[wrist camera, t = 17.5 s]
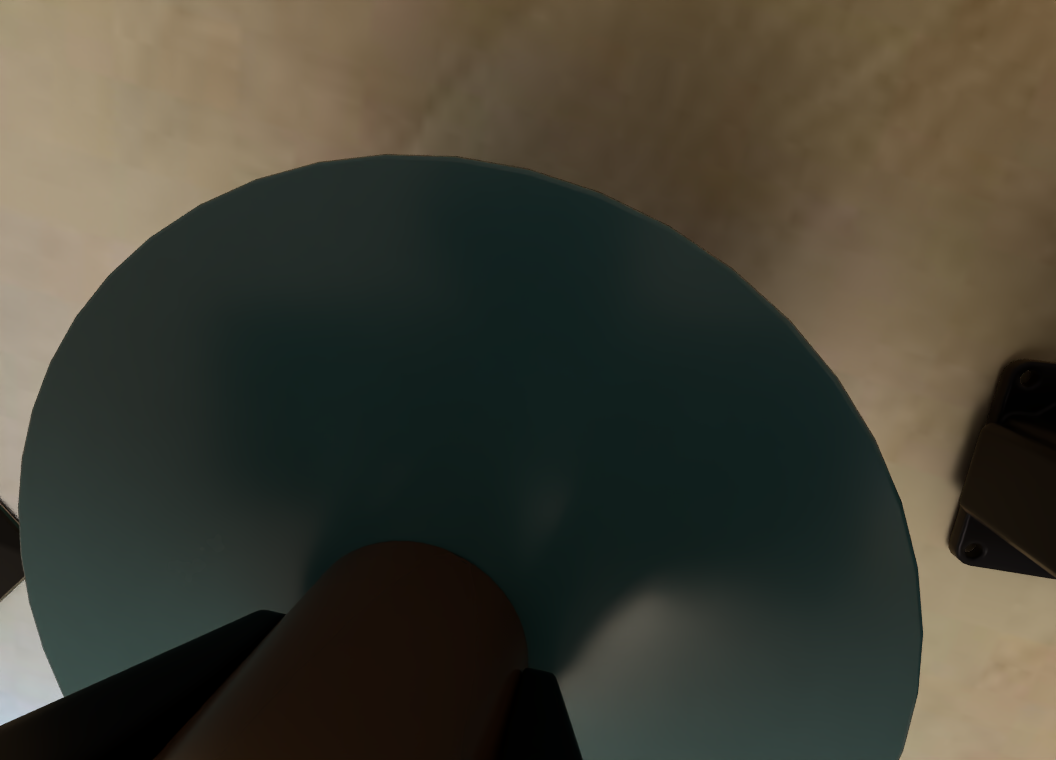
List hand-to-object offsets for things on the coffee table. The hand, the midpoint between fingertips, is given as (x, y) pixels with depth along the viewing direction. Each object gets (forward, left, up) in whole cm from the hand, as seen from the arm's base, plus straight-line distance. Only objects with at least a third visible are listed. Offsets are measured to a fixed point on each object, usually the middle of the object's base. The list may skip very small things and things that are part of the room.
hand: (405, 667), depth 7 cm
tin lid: (0, 0, -1) cm, 1 cm away
